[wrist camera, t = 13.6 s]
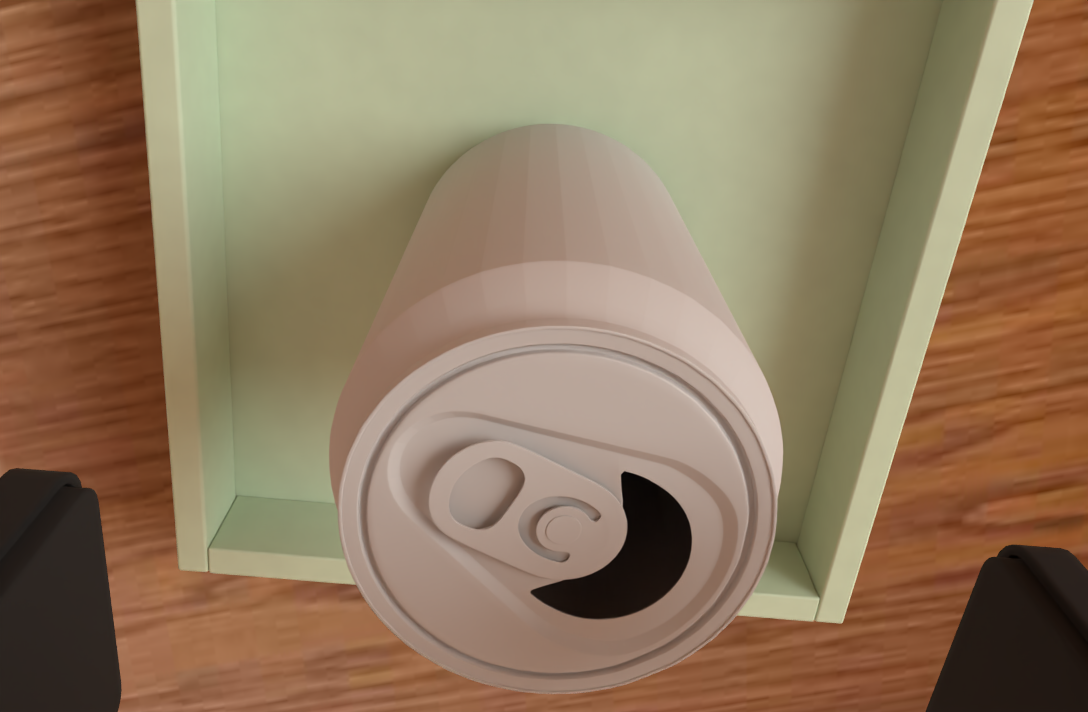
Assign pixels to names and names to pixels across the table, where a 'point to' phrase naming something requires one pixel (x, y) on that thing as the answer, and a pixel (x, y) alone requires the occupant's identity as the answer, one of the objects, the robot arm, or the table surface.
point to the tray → (579, 100)
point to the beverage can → (555, 427)
